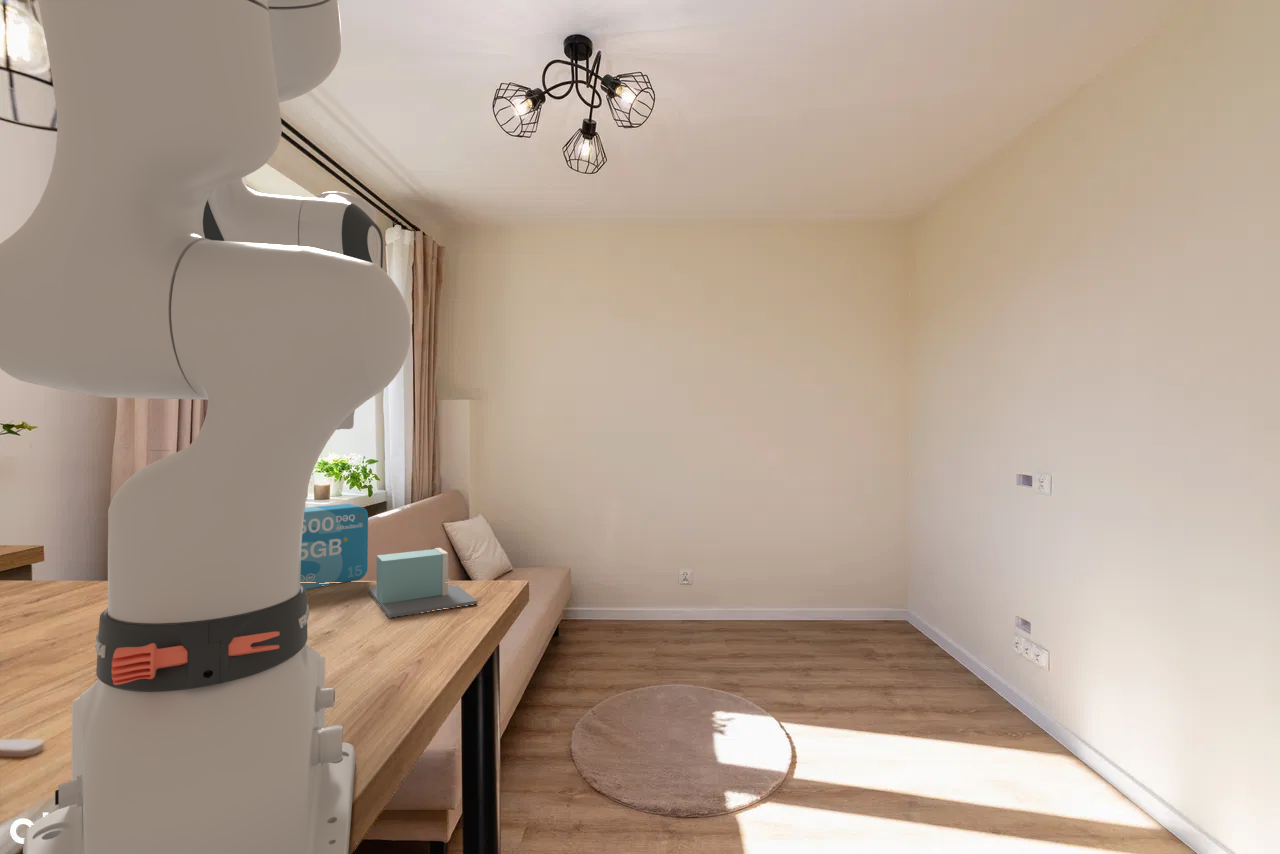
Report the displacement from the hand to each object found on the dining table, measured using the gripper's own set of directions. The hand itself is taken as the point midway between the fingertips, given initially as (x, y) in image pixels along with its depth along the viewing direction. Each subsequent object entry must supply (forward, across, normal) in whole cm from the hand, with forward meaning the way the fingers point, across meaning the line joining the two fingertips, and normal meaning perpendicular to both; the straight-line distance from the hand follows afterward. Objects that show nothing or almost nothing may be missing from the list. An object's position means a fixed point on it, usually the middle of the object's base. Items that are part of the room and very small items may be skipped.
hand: (339, 429), depth 81 cm
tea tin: (+21, +5, -6) cm, 23 cm away
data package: (+24, +21, -1) cm, 32 cm away
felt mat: (+25, +5, -12) cm, 28 cm away
